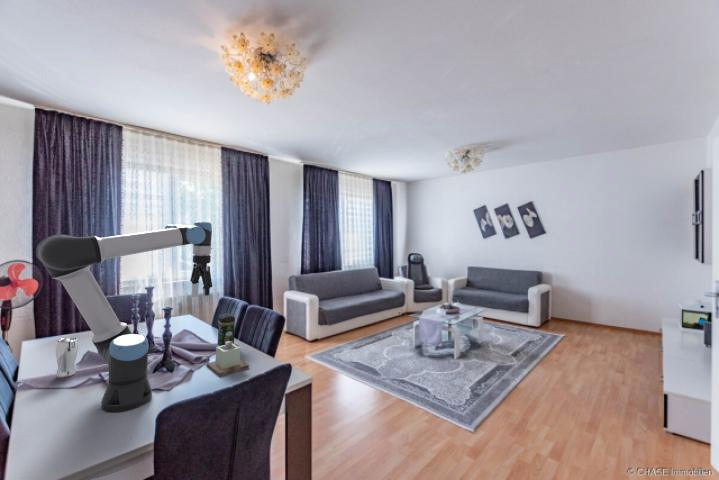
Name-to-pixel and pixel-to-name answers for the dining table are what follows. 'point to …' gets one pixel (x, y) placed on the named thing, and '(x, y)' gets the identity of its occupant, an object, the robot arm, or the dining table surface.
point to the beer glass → (66, 356)
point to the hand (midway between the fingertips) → (200, 299)
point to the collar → (227, 356)
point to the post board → (221, 372)
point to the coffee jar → (226, 328)
